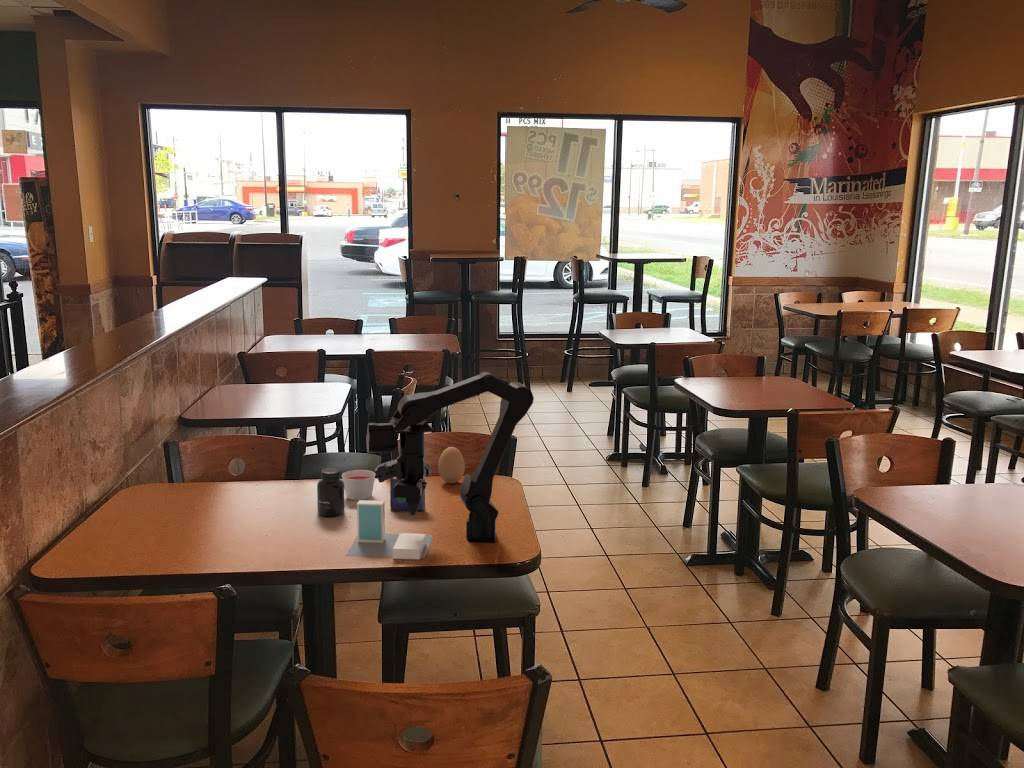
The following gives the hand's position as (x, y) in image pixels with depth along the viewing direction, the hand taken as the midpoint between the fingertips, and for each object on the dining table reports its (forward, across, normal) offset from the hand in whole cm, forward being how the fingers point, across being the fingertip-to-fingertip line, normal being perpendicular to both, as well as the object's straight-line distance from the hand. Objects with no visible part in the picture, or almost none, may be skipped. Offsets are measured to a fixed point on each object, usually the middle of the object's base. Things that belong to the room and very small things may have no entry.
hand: (412, 514), depth 202 cm
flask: (+8, -24, -5) cm, 26 cm away
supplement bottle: (+8, -19, -24) cm, 32 cm away
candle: (+8, -34, -20) cm, 40 cm away
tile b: (+7, -1, -10) cm, 12 cm away
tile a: (+6, 0, 0) cm, 6 cm away
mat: (+8, +2, -5) cm, 9 cm away
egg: (+8, -48, +4) cm, 49 cm away
